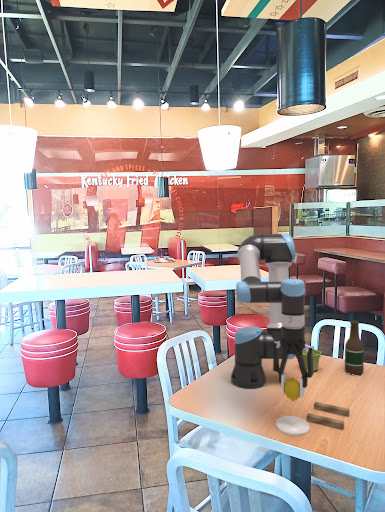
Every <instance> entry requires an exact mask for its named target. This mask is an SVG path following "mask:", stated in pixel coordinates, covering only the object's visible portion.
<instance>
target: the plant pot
mask: <svg viewBox="0 0 385 512" xmlns="http://www.w3.org/2000/svg"><path fill="white" fill-rule="evenodd" d="M302 354H303V359H304V363H305V366H306V370H308V368H307V352H306V349H305V348H304V349H303V350H302ZM321 355H322V351H320V350H318V349H315V348H314V351H313V371H315V370H317V369H318V370H319V361H320V357H321ZM315 372H316V371H315Z"/></svg>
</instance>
